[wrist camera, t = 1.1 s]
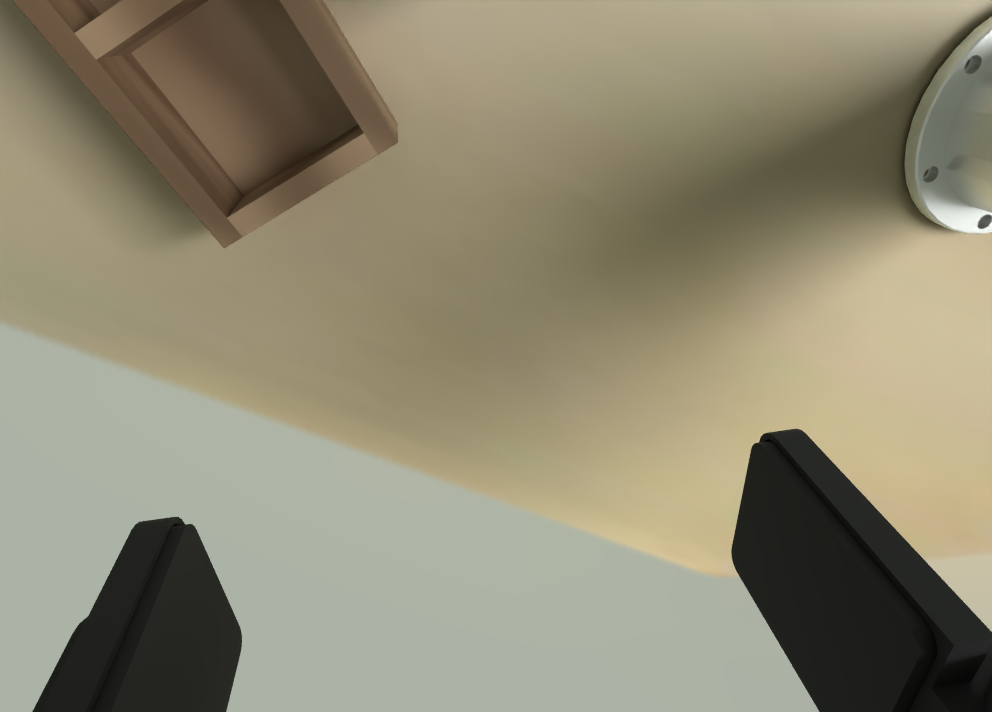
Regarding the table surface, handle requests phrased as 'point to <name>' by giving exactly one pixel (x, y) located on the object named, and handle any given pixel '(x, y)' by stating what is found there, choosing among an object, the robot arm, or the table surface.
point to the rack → (226, 96)
